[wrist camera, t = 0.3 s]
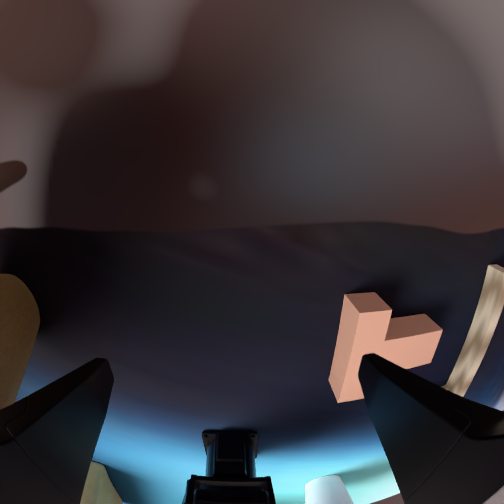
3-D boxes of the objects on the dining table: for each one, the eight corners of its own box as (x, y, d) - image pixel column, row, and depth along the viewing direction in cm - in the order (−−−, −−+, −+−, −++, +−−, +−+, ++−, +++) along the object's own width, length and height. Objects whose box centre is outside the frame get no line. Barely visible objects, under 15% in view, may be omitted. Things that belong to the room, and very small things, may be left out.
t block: (407, 365, 26) (421, 384, 23) (328, 379, 26) (337, 402, 22) (431, 286, 23) (451, 301, 20) (344, 293, 23) (359, 313, 20)
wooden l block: (449, 391, 29) (459, 403, 26) (379, 413, 28) (387, 429, 26) (496, 264, 23) (512, 272, 20) (425, 269, 23) (443, 280, 20)
